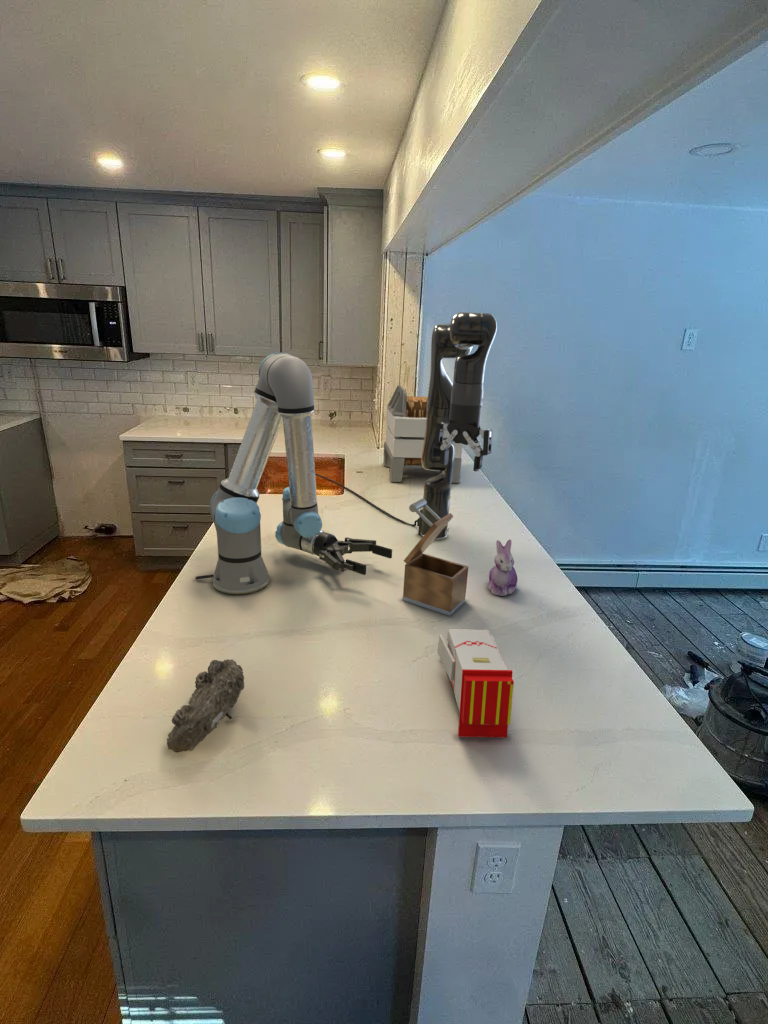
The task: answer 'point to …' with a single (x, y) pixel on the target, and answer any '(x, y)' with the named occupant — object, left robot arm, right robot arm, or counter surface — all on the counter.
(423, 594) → the chest
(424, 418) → the transformer
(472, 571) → the counter surface
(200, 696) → the fossil
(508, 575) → the figurine
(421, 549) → the lid
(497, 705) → the toy
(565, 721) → the counter surface
